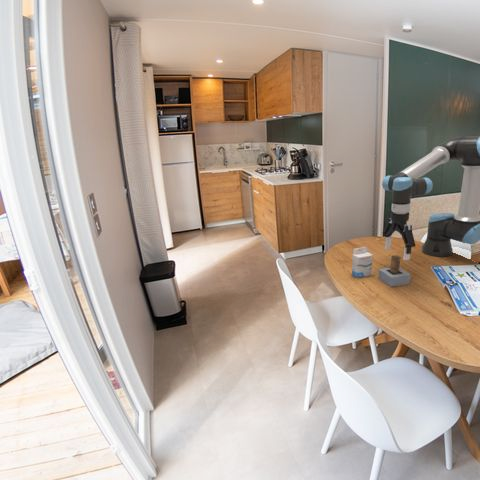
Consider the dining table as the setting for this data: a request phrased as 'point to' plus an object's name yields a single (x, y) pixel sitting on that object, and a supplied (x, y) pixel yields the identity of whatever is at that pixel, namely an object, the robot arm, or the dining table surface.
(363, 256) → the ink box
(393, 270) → the peg
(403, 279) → the socket
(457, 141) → the robot arm
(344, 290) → the dining table surface
